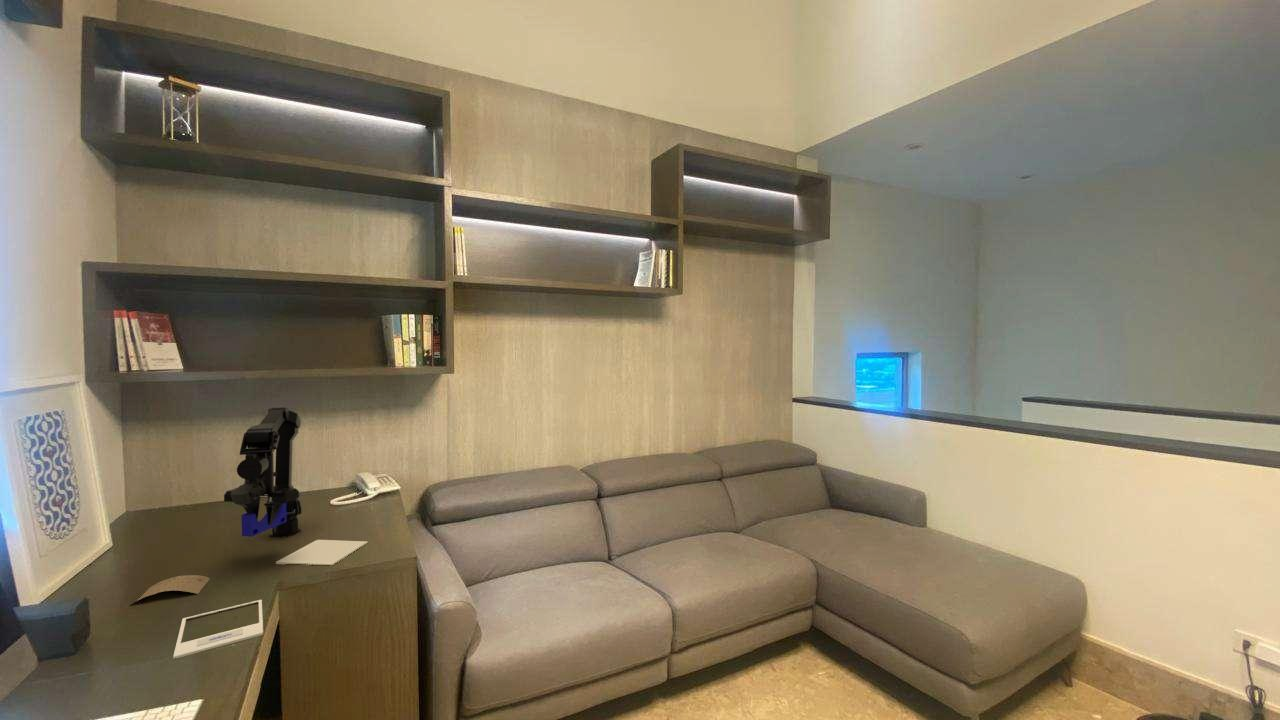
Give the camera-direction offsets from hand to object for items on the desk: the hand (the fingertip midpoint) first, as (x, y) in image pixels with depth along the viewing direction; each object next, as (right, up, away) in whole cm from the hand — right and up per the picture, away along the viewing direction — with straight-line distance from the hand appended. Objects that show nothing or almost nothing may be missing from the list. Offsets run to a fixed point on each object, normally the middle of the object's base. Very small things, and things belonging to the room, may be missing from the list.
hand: (262, 524), depth 150 cm
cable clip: (0, -2, 0) cm, 2 cm away
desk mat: (+14, -11, +6) cm, 19 cm away
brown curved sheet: (-10, -12, -18) cm, 24 cm away
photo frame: (+16, -13, -34) cm, 40 cm away
